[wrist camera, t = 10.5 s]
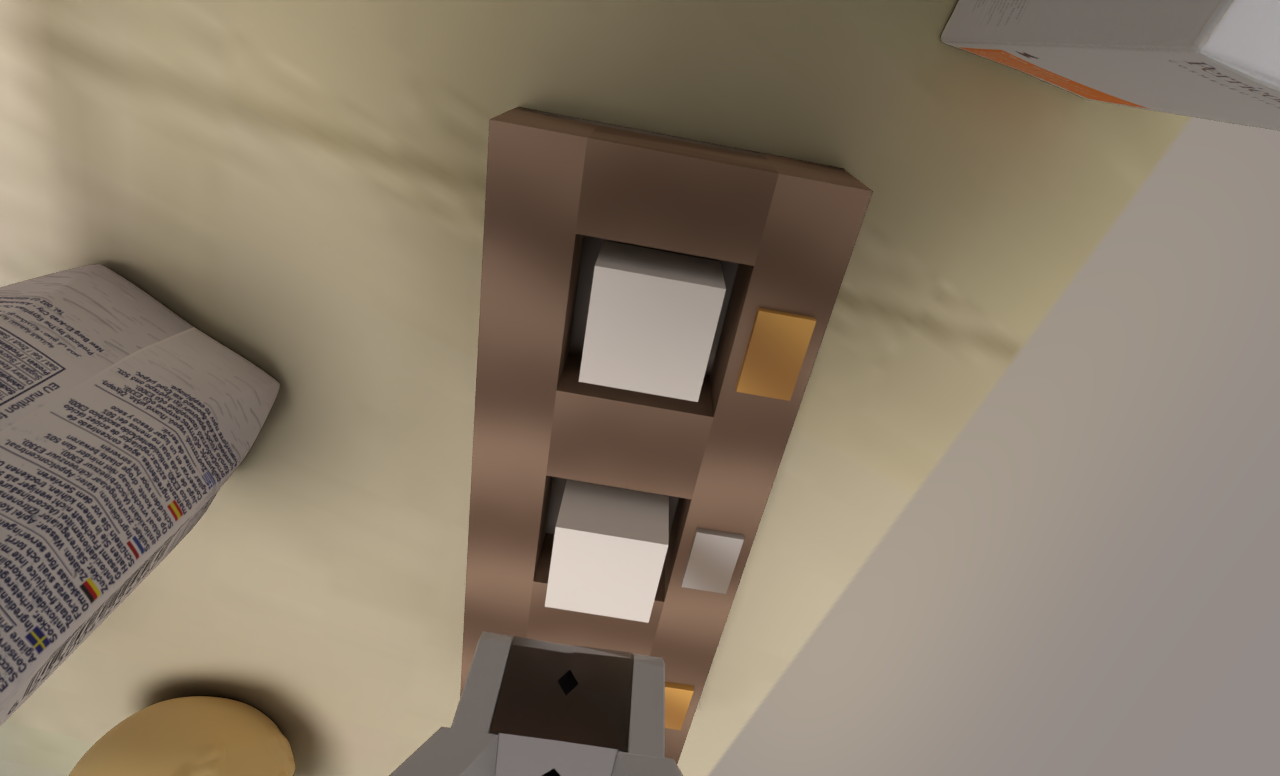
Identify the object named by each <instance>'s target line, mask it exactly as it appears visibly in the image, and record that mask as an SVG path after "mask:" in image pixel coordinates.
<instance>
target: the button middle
mask: <svg viewBox="0 0 1280 776" xmlns="http://www.w3.org/2000/svg"><path fill="white" fill-rule="evenodd" d="M668 542H669V496H665V495H659V494H653V493H647V492H641V491H635V490H629V489H623V488H617V487H611V486H604V485H598V484H592V483H586V482H580V481H574V480H568V479H567V482H566V486H565V490H564V494H563V498H562V502H561V507H560V511H559V515H558V519H557V523H556V528H555V535H554V542H553V549H552V557H551V564H550V571H549V578H548V586H547V593H546V600H545V607H550V608H557V609H563V610H570V611H576V612H582V613H589V614H595V615H602V616H608V617H614V618H621V619H627V620H634V621H640V622H646V623H649V619H650V615H651V611H652V607H653V604H654V600H655V596H656V592H657V588H658V584H659V580H660V576H661V572H662V568H663V565H664V561H665V557H666V553H667V549H668Z"/></svg>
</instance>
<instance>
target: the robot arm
mask: <svg viewBox="0 0 1280 776" xmlns="http://www.w3.org/2000/svg"><path fill="white" fill-rule="evenodd" d="M664 750H665V663H664V660H663V658H661V657H654V656H646V655H639V654H633V655H632V653H631V652H623V651H616V650H608V649H600V648H593V647H585V646H577V645H573V646H569V645H563V644H557V643H551V642H545V641H540V640H534V639H528V638H522V637H516V636H511V635H504V634H497V633H491V632H484V631H483V633H482V635H481V636H480V638H479V640H478V643H477V646H476V649H475V653H474V656H473V659H472V662H471V665H470V669H469V672H468V675H467V678H466V681H465V685H464V688H463V691H462V694H461V697H460V701H459V704H458V707H457V710H456V713H455V717H454V720H453V723H452V726H451V728H447V727H441V728H440V729H439V730H438V731H436V732H435V733H434V734H433V735H432V736H431V737H430V738H429V739H428V740H427V741H426V742H425V743H424V744H423V745H421V746H420V747H419V748H418V749H417V750H416V751H415V752H414V753H413V754H412V755H411V756H410V757H409V758H407V759H406V760H405V761H404V762H403V763H402V764H401V765H400V766H399V767H398V768H397V769H396V770H395V771H394V772H392V773H391V774H390V775H389V776H683V775H682V773H681V771H680V769H679V768H678V766H677V764H676V762H675V761H674V759H670V758H664Z"/></svg>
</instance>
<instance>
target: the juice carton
mask: <svg viewBox="0 0 1280 776" xmlns="http://www.w3.org/2000/svg"><path fill="white" fill-rule="evenodd" d="M279 387H280V384H279V383H278V382H277V381H276V380H275V379H274V378H272V377H271V376H270V375H268V374H267V373H266V372H264V371H263V370H261V369H260V368H258V367H257V366H255V365H254V364H252V363H251V362H249V361H248V360H246V359H245V358H243V357H241V356H240V355H238V354H237V353H235V352H233V351H232V350H230V349H229V348H227V347H225V346H224V345H222V344H220V343H219V342H217V341H215V340H214V339H212V338H211V337H209V336H208V335H206V334H204V333H203V332H201V331H200V330H198V329H196V328H195V327H193V326H192V325H191V324H189V323H188V322H186V321H185V320H183V319H182V318H181V317H179V316H178V315H176V314H175V313H173V312H172V311H171V310H169V309H168V308H167V307H165V306H164V305H162V304H161V303H160V302H158V301H157V300H156V299H154V298H153V297H151V296H150V295H148V294H147V293H146V292H144V291H143V290H141V289H140V288H138V287H137V286H136V285H134V284H132V283H131V282H129V281H128V280H126V279H125V278H123V277H122V276H120V275H119V274H117V273H115V272H114V271H112V270H110V269H109V268H107V267H105V266H103V265H100V264H94V265H88V266H82V267H77V268H73V269H69V270H65V271H60V272H56V273H52V274H48V275H45V276H41V277H37V278H33V279H29V280H26V281H22V282H18V283H15V284H11V285H8V286H4V287H1V288H0V726H1V725H2V724H3V723H4V722H5V721H6V720H7V719H8V718H9V717H10V716H11V715H12V714H13V713H14V712H15V711H16V710H17V709H18V708H19V707H20V706H21V705H22V704H23V703H24V702H25V701H26V700H27V699H28V698H29V697H30V696H31V695H32V694H33V692H34V691H35V690H36V689H37V688H38V687H39V686H40V685H41V684H42V683H43V682H44V681H45V680H46V679H47V678H48V677H49V676H50V675H51V674H52V673H53V672H54V671H55V670H56V669H57V668H58V667H59V666H60V665H61V664H62V663H63V662H64V661H65V660H66V659H67V658H68V657H69V656H70V655H71V654H72V653H73V652H74V651H75V650H76V649H77V647H78V646H79V645H80V644H81V643H82V642H83V641H84V640H85V639H86V638H87V637H88V636H89V635H90V634H91V633H92V632H93V631H94V630H95V629H96V628H97V627H98V626H99V625H100V624H101V623H102V622H103V621H104V620H105V619H106V618H107V617H108V616H109V615H110V614H111V613H112V612H113V611H114V610H115V609H116V608H117V607H118V606H119V604H120V603H121V602H122V601H123V600H124V599H125V598H126V597H127V596H128V595H129V594H130V593H131V592H132V591H133V590H134V589H135V588H136V587H137V586H138V585H139V584H140V583H141V582H142V581H143V580H144V579H145V578H146V577H147V576H148V575H149V574H150V573H151V572H152V571H153V570H154V569H155V567H156V566H157V565H158V564H159V563H160V562H161V561H162V560H163V559H164V558H165V557H166V556H167V555H168V554H169V553H170V552H171V551H172V550H173V549H174V548H175V547H176V546H177V545H178V543H179V542H180V541H181V540H182V539H183V538H184V537H185V536H186V535H187V534H188V533H189V532H190V531H191V529H192V528H193V527H194V526H195V525H196V523H197V522H198V521H199V520H200V518H201V517H202V516H203V515H204V513H205V512H206V510H207V509H208V507H209V506H210V504H211V502H212V501H213V499H214V498H215V496H216V494H217V492H218V491H219V489H220V487H221V486H222V485H223V484H224V483H225V482H226V481H227V479H228V478H229V477H230V476H231V474H232V473H233V472H234V471H235V470H236V468H237V467H238V466H239V465H240V463H241V462H242V461H243V459H244V458H245V456H246V455H247V453H248V451H249V450H250V448H251V447H252V445H253V443H254V441H255V440H256V438H257V436H258V434H259V432H260V430H261V428H262V426H263V424H264V422H265V420H266V418H267V416H268V414H269V412H270V410H271V408H272V406H273V404H274V401H275V399H276V397H277V394H278V391H279Z"/></svg>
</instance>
